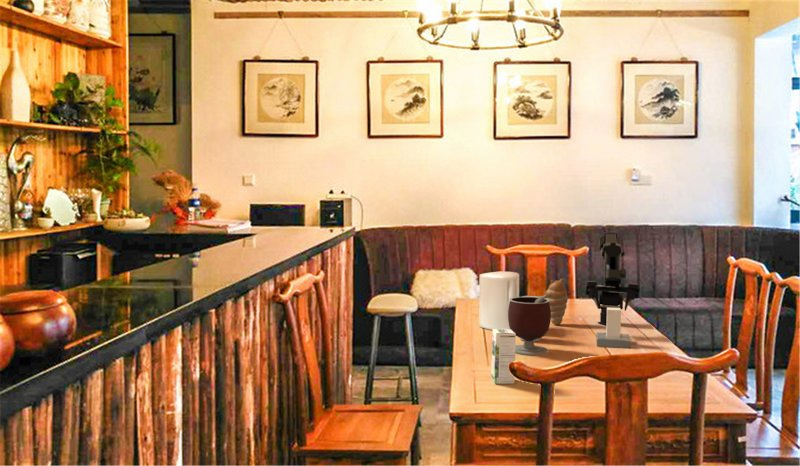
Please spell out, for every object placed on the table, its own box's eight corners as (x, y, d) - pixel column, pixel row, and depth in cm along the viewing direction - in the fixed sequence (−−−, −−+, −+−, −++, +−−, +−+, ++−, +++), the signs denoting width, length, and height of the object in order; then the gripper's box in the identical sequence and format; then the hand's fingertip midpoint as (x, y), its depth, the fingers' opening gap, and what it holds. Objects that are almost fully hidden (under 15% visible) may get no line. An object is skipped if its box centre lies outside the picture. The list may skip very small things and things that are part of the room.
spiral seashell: (560, 322, 288) (561, 277, 287) (571, 325, 281) (572, 279, 279) (541, 323, 285) (541, 278, 284) (551, 327, 278) (552, 280, 276)
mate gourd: (499, 349, 244) (499, 289, 242) (531, 344, 250) (532, 286, 249) (529, 359, 230) (529, 296, 229) (562, 353, 237) (563, 293, 235)
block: (606, 334, 254) (606, 307, 253) (619, 335, 253) (620, 308, 252) (606, 337, 249) (607, 309, 249) (620, 337, 248) (621, 310, 247)
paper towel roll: (515, 324, 283) (515, 268, 281) (530, 332, 269) (531, 273, 268) (478, 326, 280) (478, 269, 278) (491, 334, 266) (492, 274, 264)
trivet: (596, 339, 258) (596, 331, 258) (628, 341, 255) (629, 333, 255) (596, 346, 247) (596, 338, 247) (630, 348, 244) (630, 340, 244)
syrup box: (490, 378, 208) (491, 328, 207) (510, 378, 208) (511, 328, 207) (494, 384, 202) (495, 333, 201) (515, 384, 203) (516, 332, 202)
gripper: (586, 258, 264) (585, 294, 254) (640, 261, 260) (641, 298, 250) (585, 276, 272) (584, 311, 263) (637, 279, 268) (638, 315, 259)
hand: (611, 309), depth 258 cm, fingers open, 9 cm apart
